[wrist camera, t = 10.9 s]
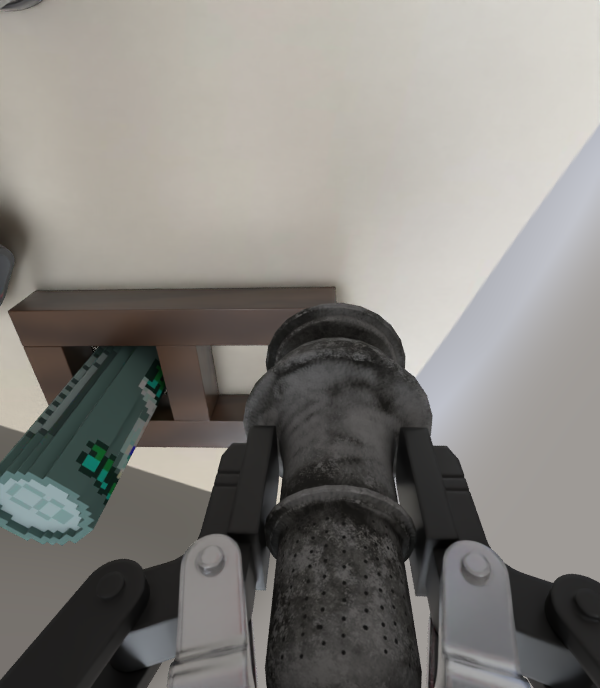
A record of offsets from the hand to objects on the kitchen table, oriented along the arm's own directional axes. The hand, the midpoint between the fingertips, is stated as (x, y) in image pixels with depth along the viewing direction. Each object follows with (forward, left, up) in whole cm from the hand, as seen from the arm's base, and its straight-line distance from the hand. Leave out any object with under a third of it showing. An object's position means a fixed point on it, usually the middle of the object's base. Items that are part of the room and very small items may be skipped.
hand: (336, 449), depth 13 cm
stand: (+10, -11, -21) cm, 26 cm away
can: (+10, -16, -21) cm, 28 cm away
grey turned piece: (0, 0, -5) cm, 5 cm away
